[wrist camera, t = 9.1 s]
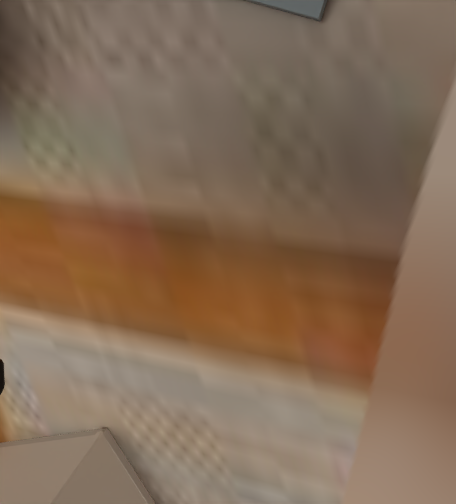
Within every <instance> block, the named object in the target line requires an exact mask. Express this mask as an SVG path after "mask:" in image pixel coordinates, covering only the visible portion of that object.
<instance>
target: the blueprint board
mask: <svg viewBox="0 0 456 504" xmlns="http://www.w3.org/2000/svg"><path fill="white" fill-rule="evenodd" d="M245 1H248V2H252V3H256V4H259V5H263V6H267V7H270V8H274V9H277V10H281V11H285V12H288V13H292V14H296V15H299V16H303V17H306V18H310V19H314V20H317V21H321V19H322V15H323V12H324V9H325V6H326V3H327V0H245Z"/></svg>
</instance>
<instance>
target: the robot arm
mask: <svg viewBox="0 0 456 504" xmlns="http://www.w3.org/2000/svg"><path fill="white" fill-rule="evenodd" d="M4 385H5V380H4V363H3V361H2V360H1V359H0V394H1V393H2V391H3V389H4Z"/></svg>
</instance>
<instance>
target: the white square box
mask: <svg viewBox="0 0 456 504" xmlns="http://www.w3.org/2000/svg"><path fill="white" fill-rule="evenodd" d="M0 504H155V502H154V501H153V499H152V498H151V496H150V494H149V493H148V491H147V490H146V488H145V487H144V485H143V483H142V482H141V480H140V479H139V477H138V476H137V474H136V472H135V471H134V469H133V468H132V466H131V465H130V463H129V461H128V460H127V458H126V457H125V455H124V454H123V452H122V450H121V449H120V447H119V446H118V444H117V442H116V441H115V439H114V438H113V436H112V435H111V433H110V431H109V430H108V428H103V429H96V430H89V431H82V432H74V433H67V434H60V435H53V436H46V437H39V438H32V439H25V440H18V441H11V442H3V443H0Z"/></svg>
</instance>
